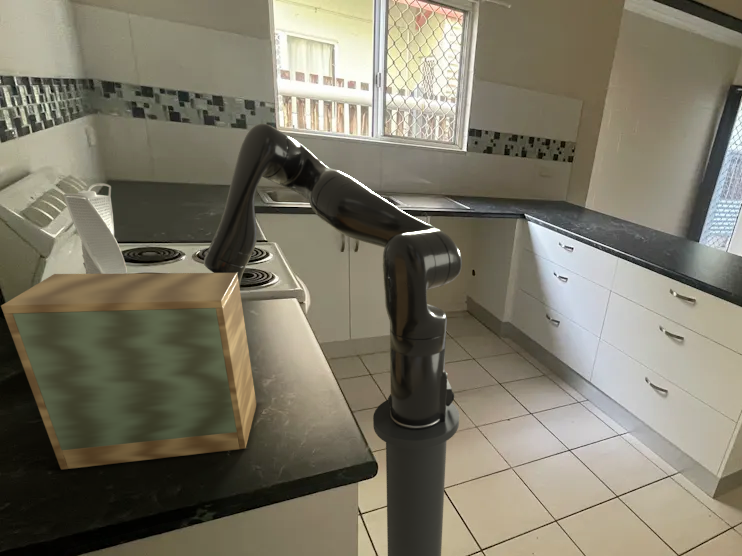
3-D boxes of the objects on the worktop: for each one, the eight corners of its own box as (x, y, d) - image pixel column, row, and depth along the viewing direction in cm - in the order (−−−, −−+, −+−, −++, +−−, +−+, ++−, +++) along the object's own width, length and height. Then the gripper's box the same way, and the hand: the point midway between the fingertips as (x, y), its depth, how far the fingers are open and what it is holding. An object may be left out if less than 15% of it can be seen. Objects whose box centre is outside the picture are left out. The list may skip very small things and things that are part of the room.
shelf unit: (256, 404, 79) (237, 272, 70) (245, 448, 69) (221, 300, 60) (98, 418, 72) (53, 273, 63) (60, 469, 62) (0, 305, 53)
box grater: (139, 303, 113) (109, 180, 101) (142, 314, 107) (111, 186, 96) (93, 308, 108) (56, 180, 96) (93, 320, 102) (55, 186, 91)
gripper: (130, 313, 76) (84, 360, 62) (231, 310, 81) (209, 354, 67) (140, 355, 79) (98, 409, 65) (237, 350, 84) (218, 399, 70)
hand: (155, 381), depth 66 cm, fingers open, 6 cm apart
